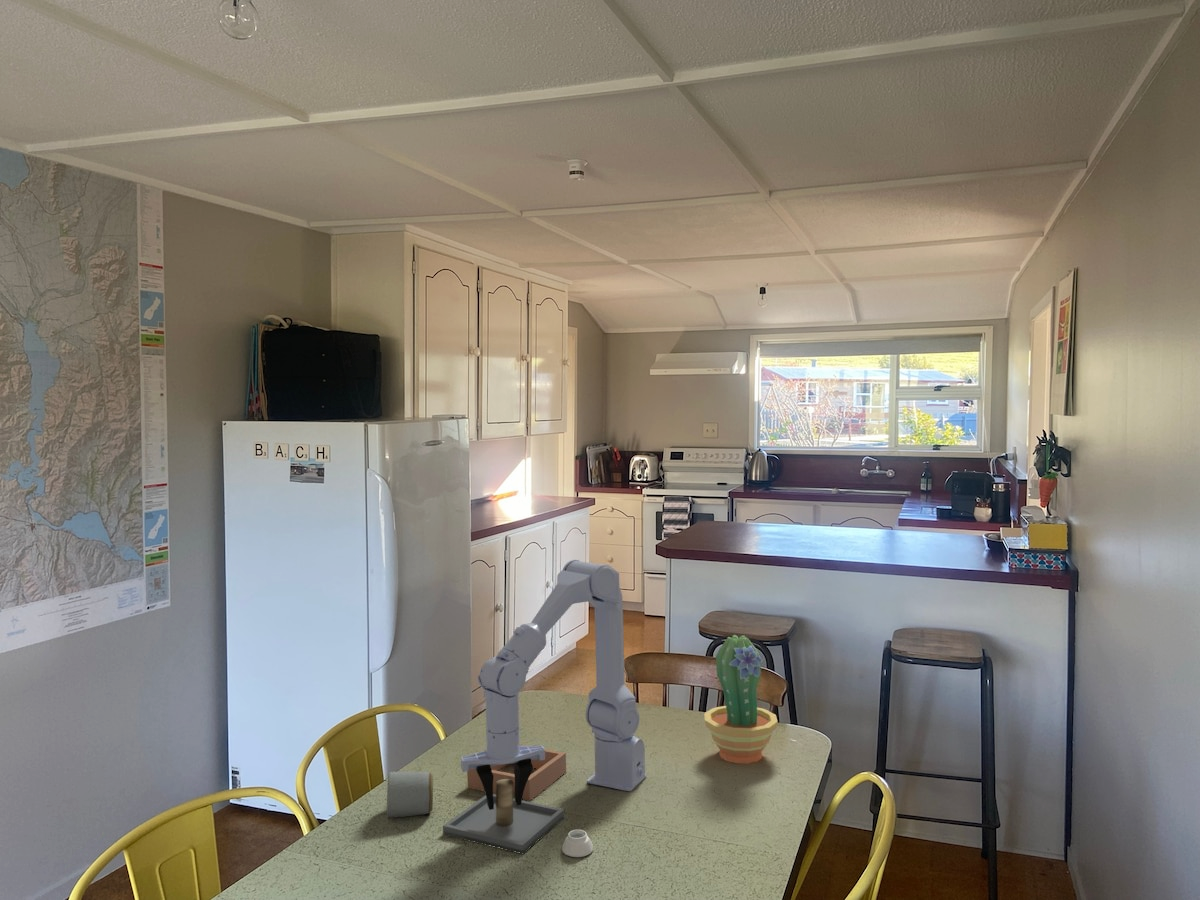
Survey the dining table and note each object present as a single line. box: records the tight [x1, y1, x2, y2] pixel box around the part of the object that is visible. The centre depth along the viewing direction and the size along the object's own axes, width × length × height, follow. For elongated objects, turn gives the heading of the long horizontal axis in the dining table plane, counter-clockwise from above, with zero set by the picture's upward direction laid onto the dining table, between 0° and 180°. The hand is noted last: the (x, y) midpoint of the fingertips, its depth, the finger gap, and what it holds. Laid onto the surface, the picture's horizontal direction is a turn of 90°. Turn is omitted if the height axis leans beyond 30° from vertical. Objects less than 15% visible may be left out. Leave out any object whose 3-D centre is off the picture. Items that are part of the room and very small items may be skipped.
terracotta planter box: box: [466, 744, 567, 802], centre depth 167 cm, size 14×14×4 cm
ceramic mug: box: [386, 771, 434, 819], centre depth 155 cm, size 11×8×8 cm
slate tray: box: [442, 793, 565, 854], centre depth 148 cm, size 16×14×2 cm
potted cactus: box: [703, 634, 778, 764], centre depth 177 cm, size 15×15×25 cm
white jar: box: [561, 829, 594, 858], centre depth 139 cm, size 5×3×5 cm
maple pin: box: [496, 779, 513, 826], centre depth 148 cm, size 3×3×7 cm
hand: (504, 804), depth 148 cm, fingers open, 4 cm apart
